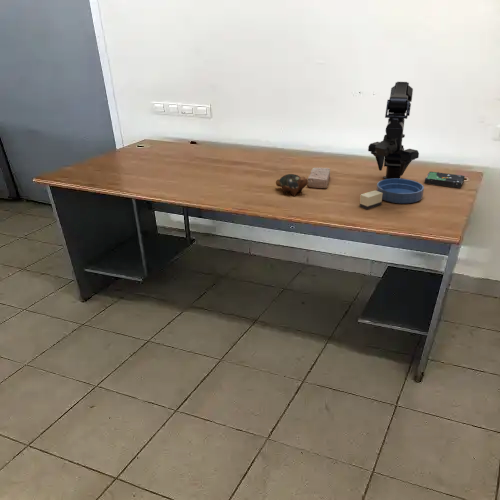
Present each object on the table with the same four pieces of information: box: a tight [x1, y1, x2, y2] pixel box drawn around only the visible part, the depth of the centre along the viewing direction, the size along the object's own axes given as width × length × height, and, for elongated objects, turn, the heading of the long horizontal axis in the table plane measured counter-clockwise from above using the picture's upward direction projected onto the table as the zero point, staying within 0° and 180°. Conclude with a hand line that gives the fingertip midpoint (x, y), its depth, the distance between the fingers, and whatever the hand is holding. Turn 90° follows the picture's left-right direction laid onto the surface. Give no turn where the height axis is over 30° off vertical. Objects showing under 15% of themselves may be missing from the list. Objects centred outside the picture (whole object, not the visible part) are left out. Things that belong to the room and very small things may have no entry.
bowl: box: [375, 178, 425, 205], centre depth 205 cm, size 18×18×4 cm
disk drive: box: [424, 171, 466, 189], centre depth 218 cm, size 10×3×15 cm
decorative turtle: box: [275, 173, 308, 197], centre depth 210 cm, size 10×15×8 cm, turn 57°
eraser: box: [359, 189, 383, 210], centre depth 196 cm, size 8×4×5 cm, turn 125°
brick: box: [307, 167, 331, 189], centre depth 221 cm, size 16×8×5 cm, turn 167°
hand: (390, 173), depth 192 cm, fingers open, 9 cm apart
